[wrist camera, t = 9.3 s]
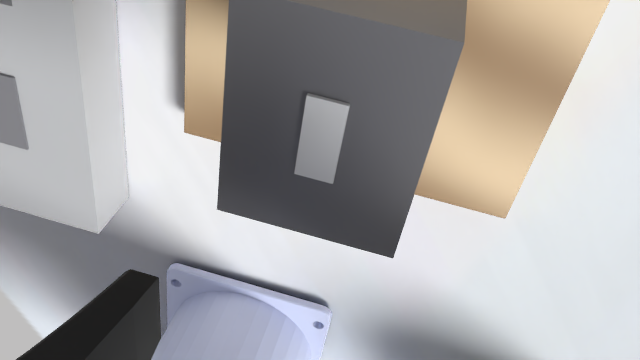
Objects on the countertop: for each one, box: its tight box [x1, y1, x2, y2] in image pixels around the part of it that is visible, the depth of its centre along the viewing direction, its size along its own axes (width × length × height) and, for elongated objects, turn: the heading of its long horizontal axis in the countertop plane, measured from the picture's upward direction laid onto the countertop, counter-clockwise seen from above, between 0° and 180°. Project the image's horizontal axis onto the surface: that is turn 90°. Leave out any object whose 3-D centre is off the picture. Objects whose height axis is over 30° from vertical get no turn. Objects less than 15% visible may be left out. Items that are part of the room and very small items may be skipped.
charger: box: [217, 0, 467, 258], centre depth 14 cm, size 5×4×8 cm
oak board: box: [184, 0, 610, 218], centre depth 17 cm, size 12×12×1 cm
